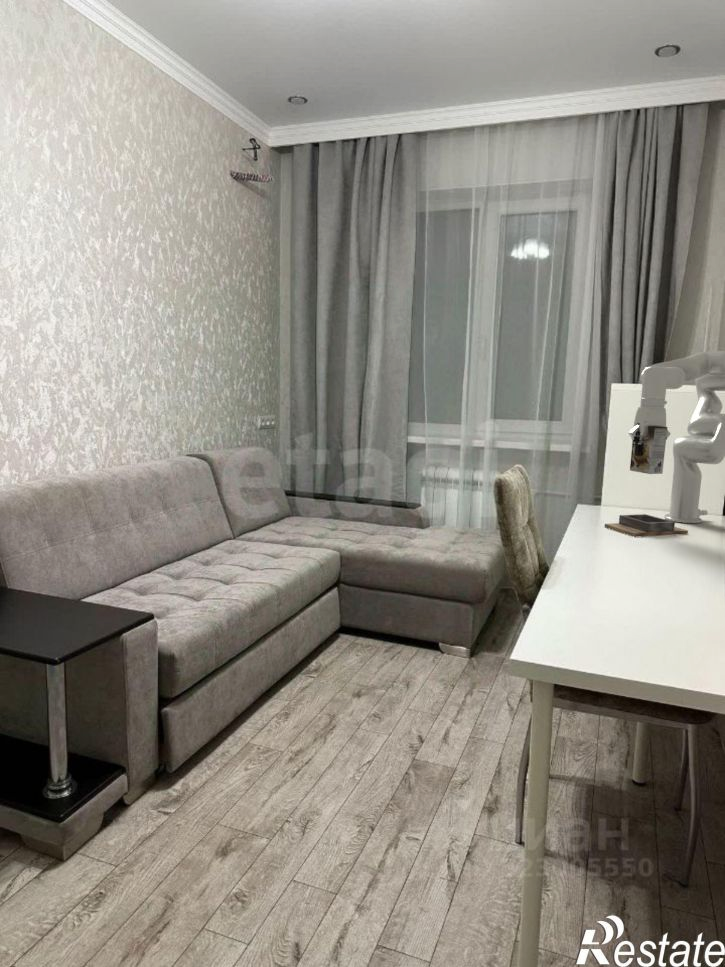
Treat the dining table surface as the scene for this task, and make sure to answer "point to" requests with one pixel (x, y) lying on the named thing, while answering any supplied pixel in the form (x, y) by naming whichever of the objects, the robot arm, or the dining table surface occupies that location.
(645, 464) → the coffee box
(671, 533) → the slot board
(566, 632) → the dining table surface
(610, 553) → the dining table surface
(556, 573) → the dining table surface
